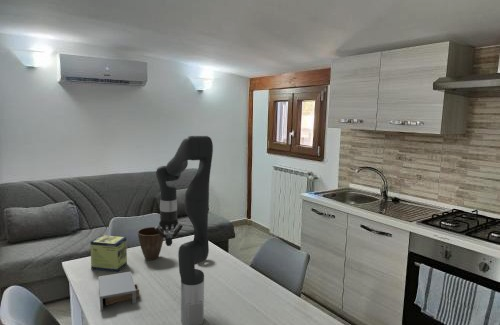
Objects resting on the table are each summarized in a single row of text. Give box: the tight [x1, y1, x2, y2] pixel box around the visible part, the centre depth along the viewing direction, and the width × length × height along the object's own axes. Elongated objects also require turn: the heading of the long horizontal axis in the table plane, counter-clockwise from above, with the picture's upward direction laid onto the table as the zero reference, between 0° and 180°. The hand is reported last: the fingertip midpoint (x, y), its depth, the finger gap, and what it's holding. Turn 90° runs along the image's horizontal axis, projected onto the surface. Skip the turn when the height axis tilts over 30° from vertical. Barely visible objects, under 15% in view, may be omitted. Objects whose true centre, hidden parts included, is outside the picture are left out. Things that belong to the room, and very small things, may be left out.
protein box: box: [90, 234, 128, 273], centre depth 190 cm, size 10×16×16 cm
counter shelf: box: [98, 271, 137, 312], centre depth 160 cm, size 20×14×6 cm
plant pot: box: [137, 226, 165, 261], centre depth 203 cm, size 15×15×16 cm
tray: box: [104, 283, 140, 306], centre depth 158 cm, size 6×14×4 cm, turn 115°
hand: (168, 245), depth 162 cm, fingers closed
